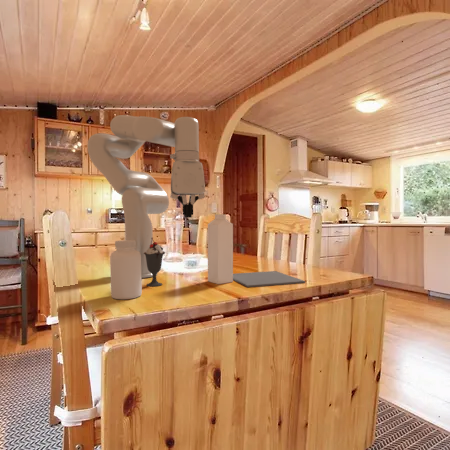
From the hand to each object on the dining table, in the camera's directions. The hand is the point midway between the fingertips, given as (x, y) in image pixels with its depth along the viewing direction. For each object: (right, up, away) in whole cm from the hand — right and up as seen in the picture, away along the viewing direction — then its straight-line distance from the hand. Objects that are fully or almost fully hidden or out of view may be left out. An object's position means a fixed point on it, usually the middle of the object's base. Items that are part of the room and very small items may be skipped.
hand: (188, 217), depth 105 cm
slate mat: (+25, -21, +9) cm, 33 cm away
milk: (+10, -21, +5) cm, 24 cm away
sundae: (-10, -21, 0) cm, 24 cm away
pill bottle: (-15, -22, -15) cm, 30 cm away
